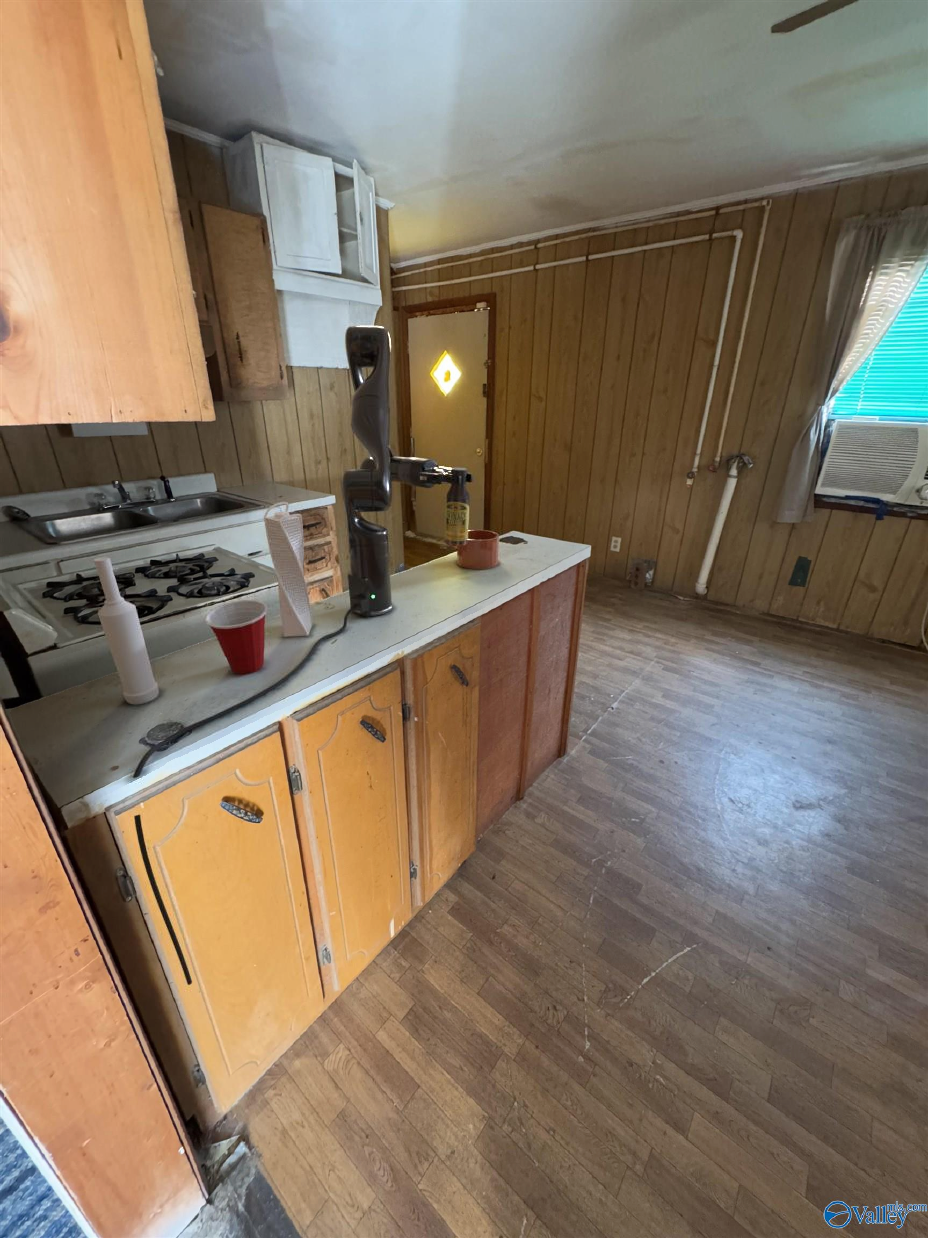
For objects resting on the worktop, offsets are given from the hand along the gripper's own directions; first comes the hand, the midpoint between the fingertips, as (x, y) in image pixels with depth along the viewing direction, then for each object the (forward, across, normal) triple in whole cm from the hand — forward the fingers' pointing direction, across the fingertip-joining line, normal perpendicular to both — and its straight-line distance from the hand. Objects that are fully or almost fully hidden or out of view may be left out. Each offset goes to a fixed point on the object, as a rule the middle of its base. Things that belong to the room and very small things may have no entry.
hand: (465, 478), depth 127 cm
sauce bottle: (-3, 0, +18) cm, 18 cm away
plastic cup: (-3, -62, +29) cm, 69 cm away
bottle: (-7, -79, +30) cm, 85 cm away
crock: (-10, +19, +29) cm, 36 cm away
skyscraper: (-10, -46, +29) cm, 55 cm away
